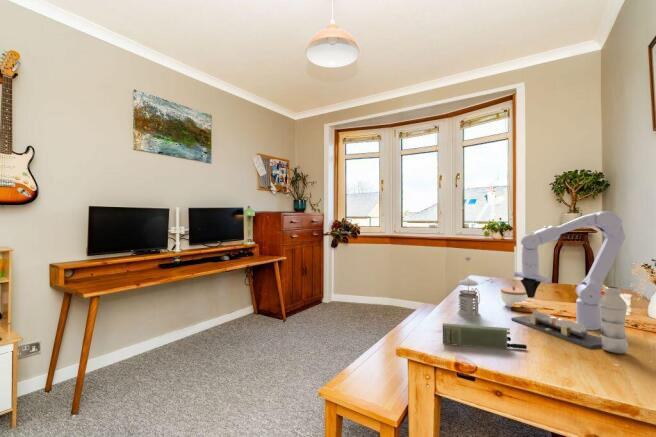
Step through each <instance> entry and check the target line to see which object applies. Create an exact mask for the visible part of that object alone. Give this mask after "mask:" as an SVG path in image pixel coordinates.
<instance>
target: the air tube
mask: <svg viewBox="0 0 656 437" xmlns="http://www.w3.org/2000/svg"><path fill="white" fill-rule="evenodd" d="M548 314H549V313H545V312H542V311H539V310H534V311H532V313H531V315H532V316H533V315H534V316H537V317H538V322H539V323H542V324H545V325H548V326H551V327H553V328H556V329H559V330H561V326H564V325H565V326H568V327H570V333H571V334H574V335H577V336H580V337H586V336H587V334H589V329H588V328H587V327H586V326H584V325H581V324H578V323H574V322H575V321H571V320H567V319H564V318H561V317H558V316H554V315H552V314H550V315H548ZM551 315H552V316H551Z"/></svg>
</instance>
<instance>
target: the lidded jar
mask: <svg viewBox="0 0 656 437" xmlns="http://www.w3.org/2000/svg"><path fill="white" fill-rule="evenodd" d="M500 294H501V296H500V297H501V300H502V302H503V303H504V304H505V306H506V307H508V308H509V309H510V308H511V306H512V304H513V303H515V302H522V301H526V302H527V299H528V296H527V293H526V290H525V288H518V287H516V286H511V287H502V288H500ZM511 309H512V308H511Z"/></svg>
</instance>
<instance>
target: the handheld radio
mask: <svg viewBox="0 0 656 437" xmlns="http://www.w3.org/2000/svg"><path fill="white" fill-rule="evenodd" d="M508 335H509V336H508ZM510 335H511V329H510V328H509V327H501V326H484V325H471V324H456V323H455V324H454V323H444V322H443V323H442V344H444V343H447V344H446V345H452V344H457V345H456V346H463V345H465V347H475V348H476V347H477V348H486V349H487V348H488V349H499V350H508V348H514V349H523V350H527V347H528V346H527V344H524V343H523V344H522V343H510V341H511V342H512V338H511V337H510ZM508 342H509V343H508Z"/></svg>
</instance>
